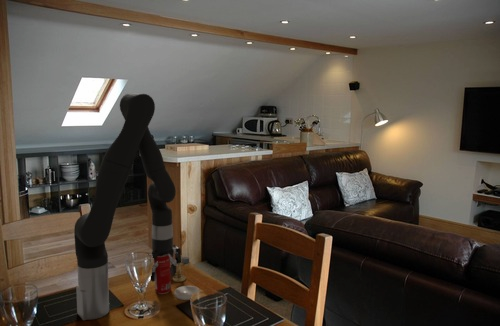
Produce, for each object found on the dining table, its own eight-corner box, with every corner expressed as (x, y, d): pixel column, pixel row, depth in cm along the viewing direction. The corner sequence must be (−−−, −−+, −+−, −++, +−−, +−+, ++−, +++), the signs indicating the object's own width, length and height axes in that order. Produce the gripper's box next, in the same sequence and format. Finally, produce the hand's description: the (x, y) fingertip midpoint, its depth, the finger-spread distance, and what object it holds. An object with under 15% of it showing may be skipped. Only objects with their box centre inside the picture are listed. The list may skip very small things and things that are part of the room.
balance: (182, 287, 150) (182, 257, 149) (165, 275, 160) (165, 247, 159) (193, 283, 154) (193, 254, 152) (176, 272, 164) (176, 245, 162)
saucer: (182, 302, 139) (182, 299, 139) (170, 293, 146) (170, 290, 145) (204, 295, 145) (204, 292, 144) (191, 286, 151) (191, 283, 151)
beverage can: (172, 287, 150) (172, 250, 148) (167, 295, 143) (167, 256, 141) (157, 286, 150) (157, 249, 148) (151, 294, 144) (151, 255, 142)
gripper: (149, 242, 136) (149, 286, 139) (184, 234, 145) (184, 276, 148) (139, 236, 142) (140, 279, 144) (174, 229, 151) (174, 269, 154)
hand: (163, 277), depth 146 cm, fingers open, 8 cm apart
